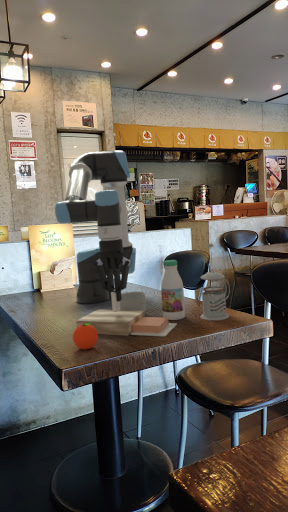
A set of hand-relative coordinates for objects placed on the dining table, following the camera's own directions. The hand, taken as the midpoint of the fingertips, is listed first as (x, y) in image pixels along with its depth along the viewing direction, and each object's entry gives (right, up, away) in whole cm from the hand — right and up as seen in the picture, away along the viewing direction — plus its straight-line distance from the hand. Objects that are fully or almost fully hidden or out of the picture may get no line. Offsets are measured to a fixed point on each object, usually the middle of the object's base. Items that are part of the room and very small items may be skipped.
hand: (116, 310), depth 121 cm
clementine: (-7, -8, -17) cm, 20 cm away
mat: (+12, -5, -5) cm, 14 cm away
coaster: (+11, -5, -4) cm, 13 cm away
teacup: (+5, -4, +16) cm, 17 cm away
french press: (+34, -3, +6) cm, 35 cm away
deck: (-1, -6, +1) cm, 6 cm away
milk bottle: (+19, -4, +7) cm, 21 cm away
